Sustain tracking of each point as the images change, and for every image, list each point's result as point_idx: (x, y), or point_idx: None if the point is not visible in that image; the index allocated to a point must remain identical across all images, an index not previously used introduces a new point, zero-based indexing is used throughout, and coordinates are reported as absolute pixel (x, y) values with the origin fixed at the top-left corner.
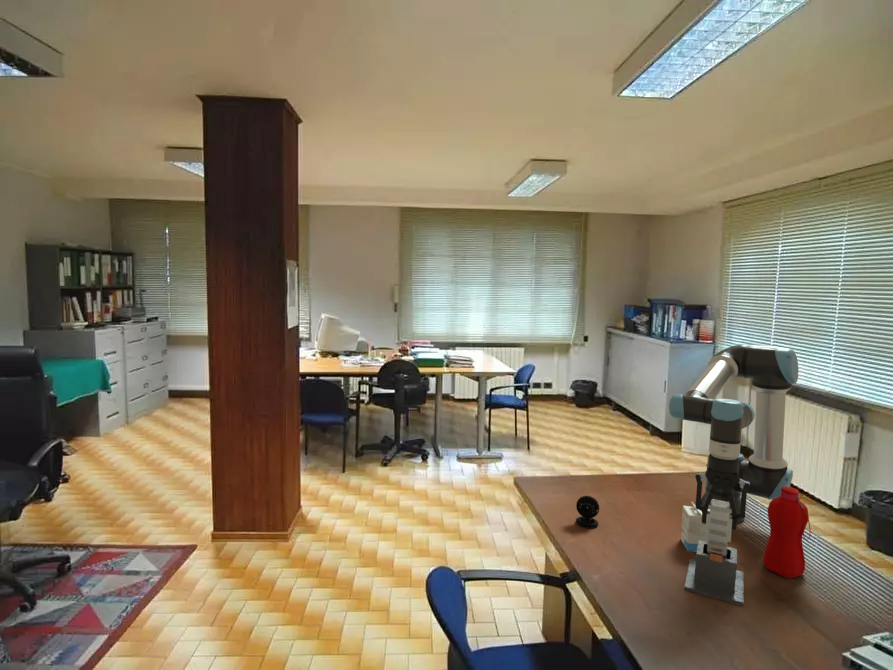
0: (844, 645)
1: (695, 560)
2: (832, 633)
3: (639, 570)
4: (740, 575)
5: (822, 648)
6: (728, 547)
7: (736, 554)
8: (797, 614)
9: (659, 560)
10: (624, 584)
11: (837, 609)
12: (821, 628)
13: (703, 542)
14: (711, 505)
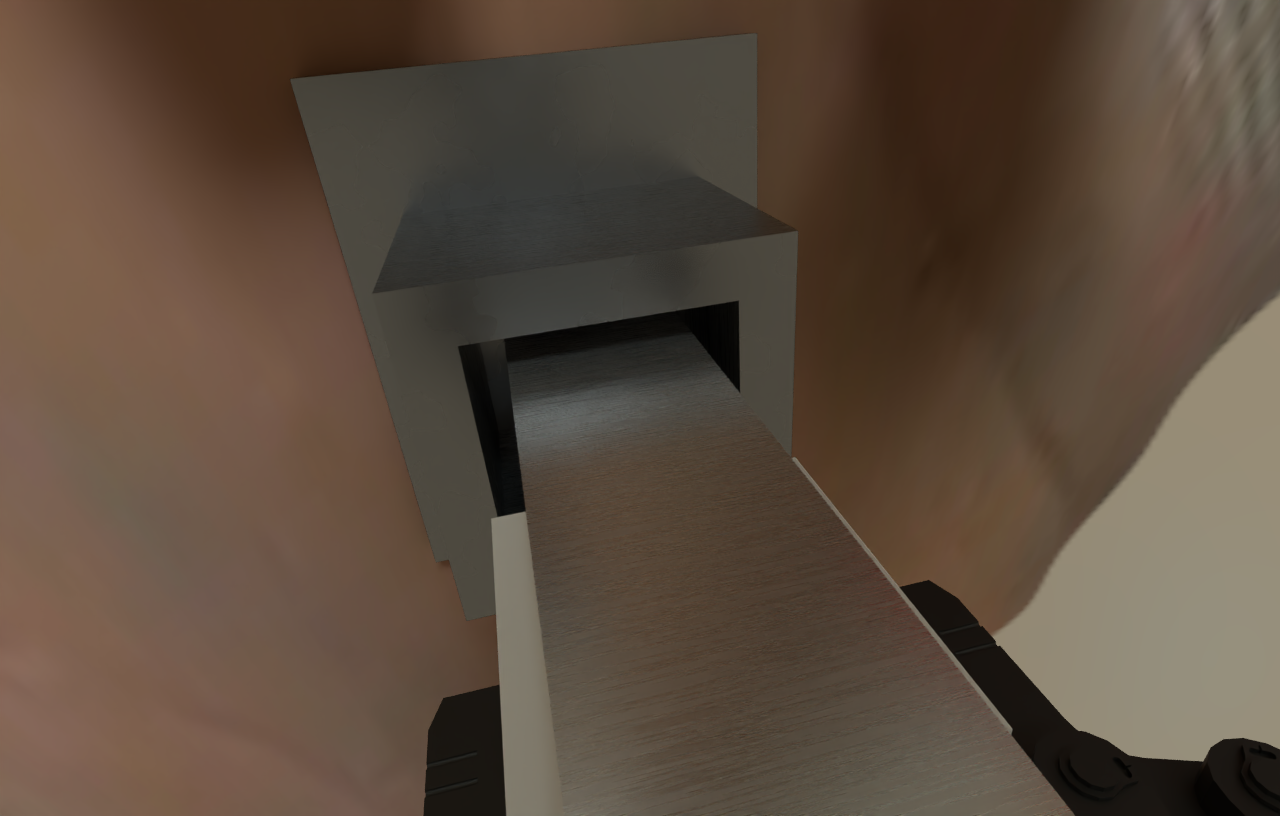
0: (1107, 485)
1: (346, 86)
2: (1096, 428)
3: (69, 528)
4: (736, 130)
5: (1017, 561)
6: (712, 257)
7: (790, 378)
8: (995, 367)
9: (66, 255)
10: (128, 723)
11: (1227, 149)
12: (1065, 419)
13: (442, 323)
14: None
